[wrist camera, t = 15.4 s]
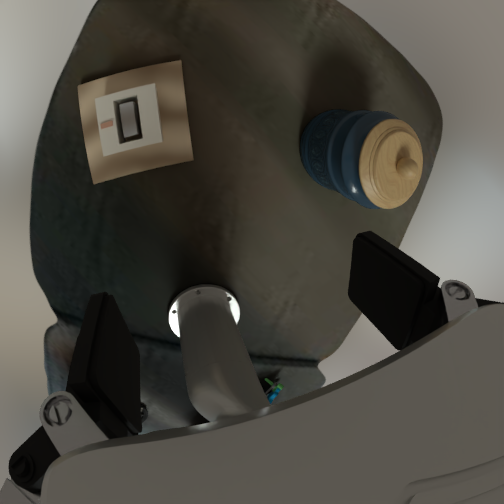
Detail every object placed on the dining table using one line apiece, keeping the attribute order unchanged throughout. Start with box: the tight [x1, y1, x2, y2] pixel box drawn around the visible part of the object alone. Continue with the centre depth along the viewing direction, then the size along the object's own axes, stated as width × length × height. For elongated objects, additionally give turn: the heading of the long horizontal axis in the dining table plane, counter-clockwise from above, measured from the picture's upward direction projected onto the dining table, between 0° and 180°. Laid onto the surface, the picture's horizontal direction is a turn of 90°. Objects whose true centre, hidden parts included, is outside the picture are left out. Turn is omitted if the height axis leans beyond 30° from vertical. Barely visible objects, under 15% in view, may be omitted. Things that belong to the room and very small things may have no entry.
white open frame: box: [95, 83, 163, 156], centre depth 27 cm, size 7×7×5 cm
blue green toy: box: [265, 378, 284, 404], centre depth 60 cm, size 11×6×10 cm
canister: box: [300, 109, 423, 209], centre depth 33 cm, size 13×13×18 cm
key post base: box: [78, 60, 194, 184], centre depth 28 cm, size 14×14×6 cm
